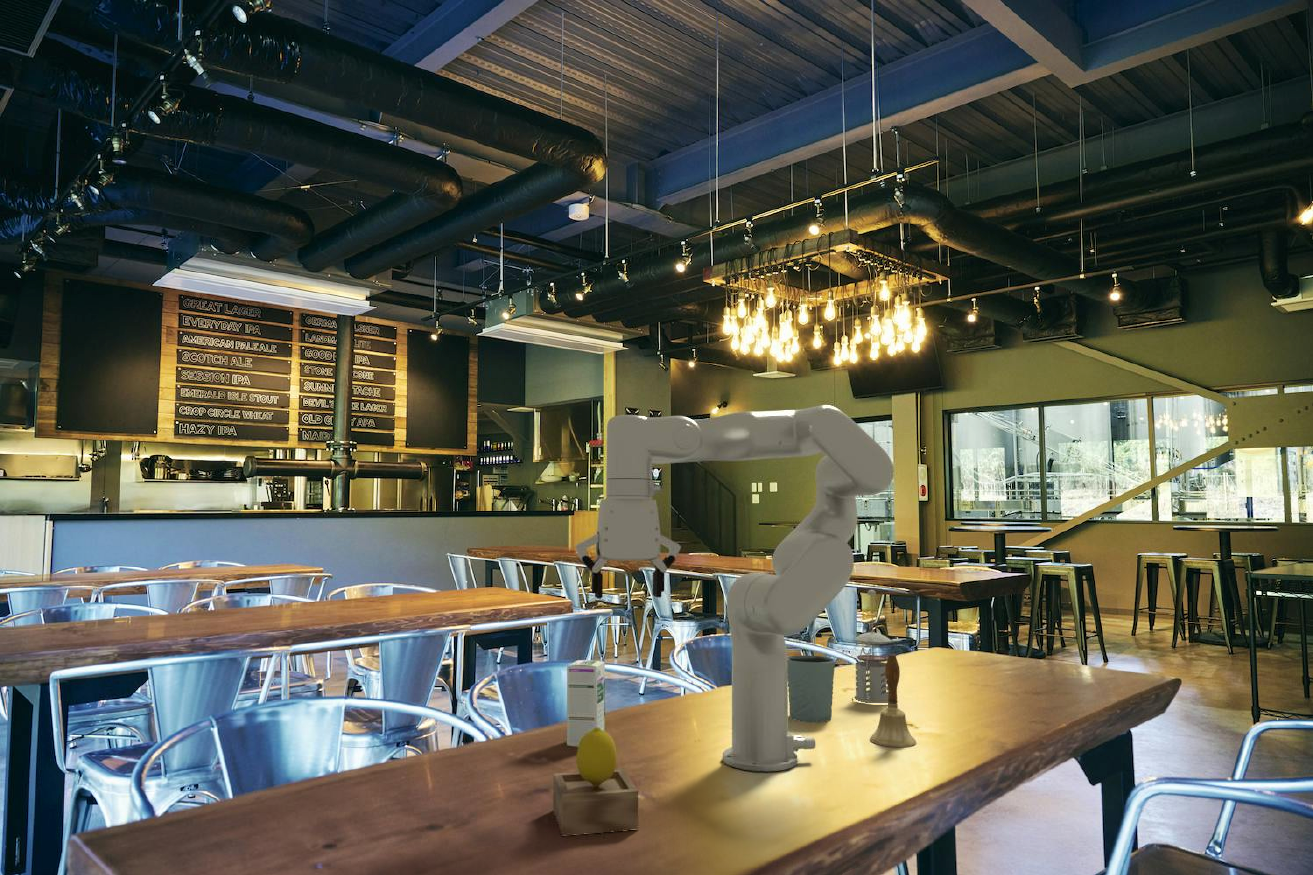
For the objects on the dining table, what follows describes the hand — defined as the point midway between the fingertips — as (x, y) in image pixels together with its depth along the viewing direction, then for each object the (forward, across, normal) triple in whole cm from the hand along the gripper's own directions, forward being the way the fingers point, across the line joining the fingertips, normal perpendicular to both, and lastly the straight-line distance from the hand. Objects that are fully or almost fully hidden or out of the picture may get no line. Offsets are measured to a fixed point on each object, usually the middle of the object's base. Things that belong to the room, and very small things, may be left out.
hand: (628, 597), depth 135 cm
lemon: (+24, +8, +17) cm, 30 cm away
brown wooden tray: (+28, +8, +17) cm, 34 cm away
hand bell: (+29, -53, -11) cm, 61 cm away
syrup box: (+28, +3, -22) cm, 36 cm away
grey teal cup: (+28, -46, -32) cm, 63 cm away
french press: (+28, -66, -43) cm, 84 cm away
